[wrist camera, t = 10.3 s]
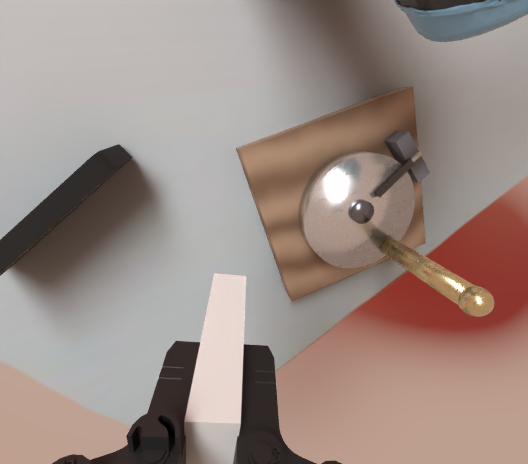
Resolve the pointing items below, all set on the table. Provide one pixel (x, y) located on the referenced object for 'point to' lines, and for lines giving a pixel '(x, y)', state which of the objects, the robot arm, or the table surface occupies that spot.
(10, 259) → the nameplate
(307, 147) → the walnut stand
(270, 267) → the table surface
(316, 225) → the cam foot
